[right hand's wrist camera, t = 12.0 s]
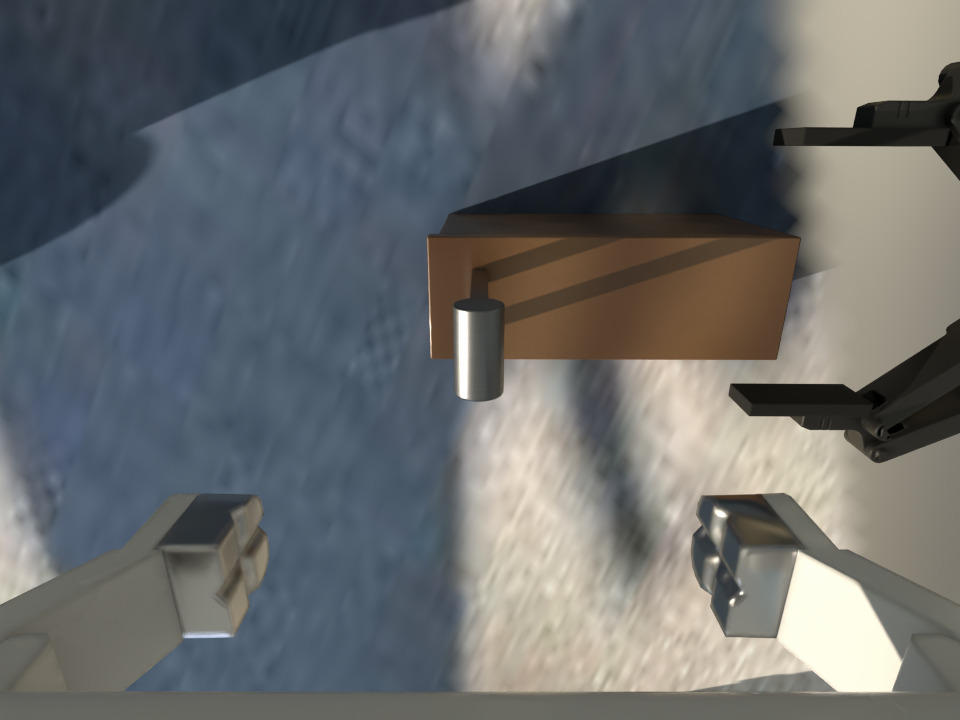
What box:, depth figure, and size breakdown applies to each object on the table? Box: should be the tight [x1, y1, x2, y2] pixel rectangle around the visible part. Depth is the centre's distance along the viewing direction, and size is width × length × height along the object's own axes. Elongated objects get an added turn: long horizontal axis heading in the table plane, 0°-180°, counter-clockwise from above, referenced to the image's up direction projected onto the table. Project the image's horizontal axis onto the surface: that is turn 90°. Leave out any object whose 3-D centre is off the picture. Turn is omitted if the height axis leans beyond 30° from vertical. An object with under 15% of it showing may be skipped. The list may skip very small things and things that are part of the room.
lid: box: [427, 234, 801, 401], centre depth 23 cm, size 17×6×8 cm, turn 90°
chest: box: [439, 214, 789, 235], centre depth 31 cm, size 16×6×8 cm, turn 90°
